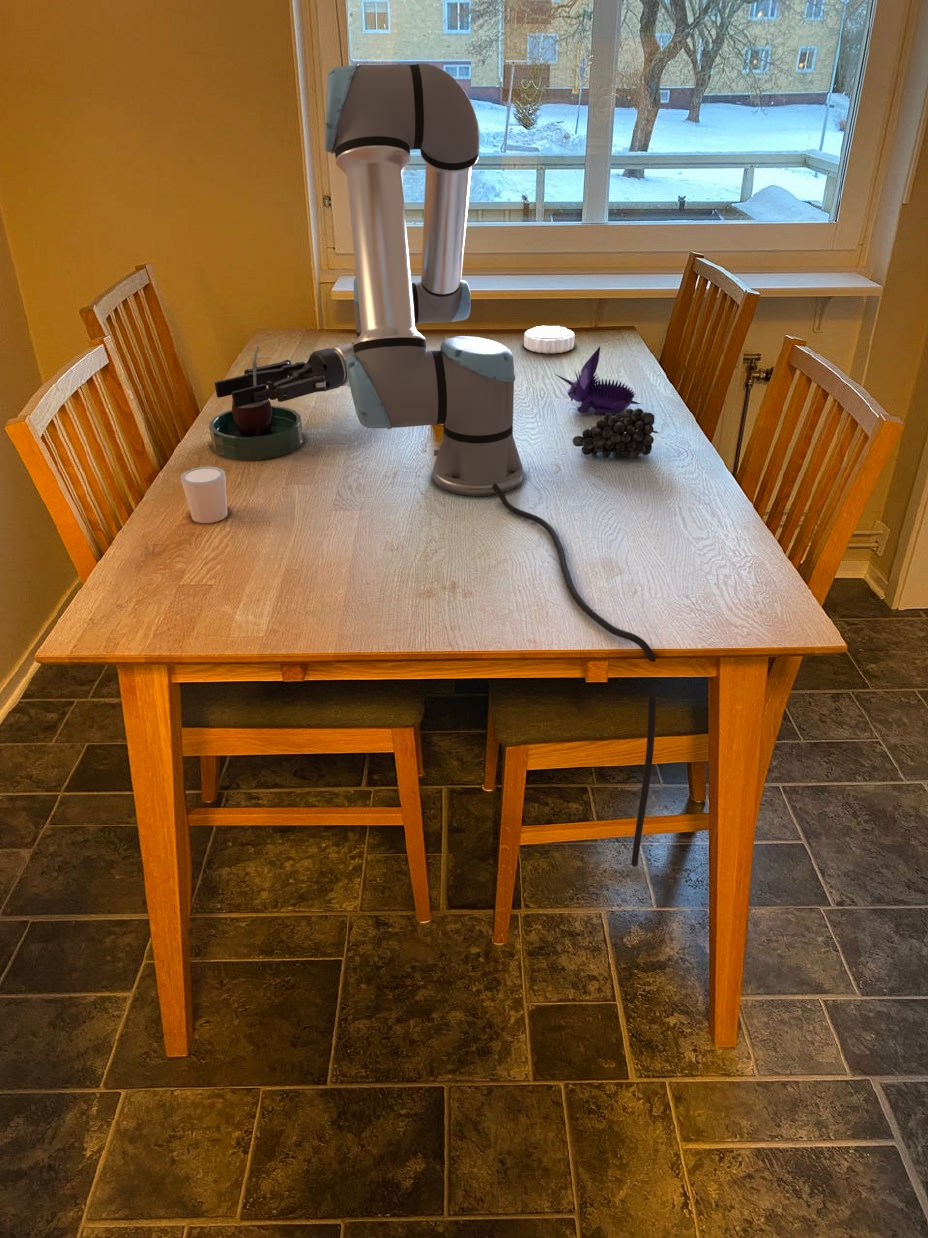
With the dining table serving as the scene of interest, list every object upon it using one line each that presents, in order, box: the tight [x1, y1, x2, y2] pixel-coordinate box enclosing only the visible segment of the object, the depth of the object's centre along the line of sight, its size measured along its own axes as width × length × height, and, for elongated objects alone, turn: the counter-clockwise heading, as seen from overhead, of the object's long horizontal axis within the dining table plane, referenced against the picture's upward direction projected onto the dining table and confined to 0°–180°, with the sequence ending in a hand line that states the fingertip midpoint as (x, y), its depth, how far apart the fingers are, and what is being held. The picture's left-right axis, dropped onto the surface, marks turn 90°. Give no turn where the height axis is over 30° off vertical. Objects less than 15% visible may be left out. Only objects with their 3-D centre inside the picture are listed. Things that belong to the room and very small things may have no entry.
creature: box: [554, 345, 642, 415], centre depth 184 cm, size 9×18×12 cm, turn 80°
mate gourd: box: [231, 346, 273, 437], centre depth 170 cm, size 8×8×15 cm
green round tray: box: [209, 405, 304, 461], centre depth 173 cm, size 17×17×4 cm
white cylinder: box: [179, 466, 229, 524], centre depth 147 cm, size 7×7×7 cm
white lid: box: [523, 325, 576, 354], centre depth 222 cm, size 12×12×4 cm
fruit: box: [572, 408, 659, 459], centre depth 167 cm, size 9×8×15 cm
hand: (225, 394), depth 166 cm, fingers closed on mate gourd, 6 cm apart
